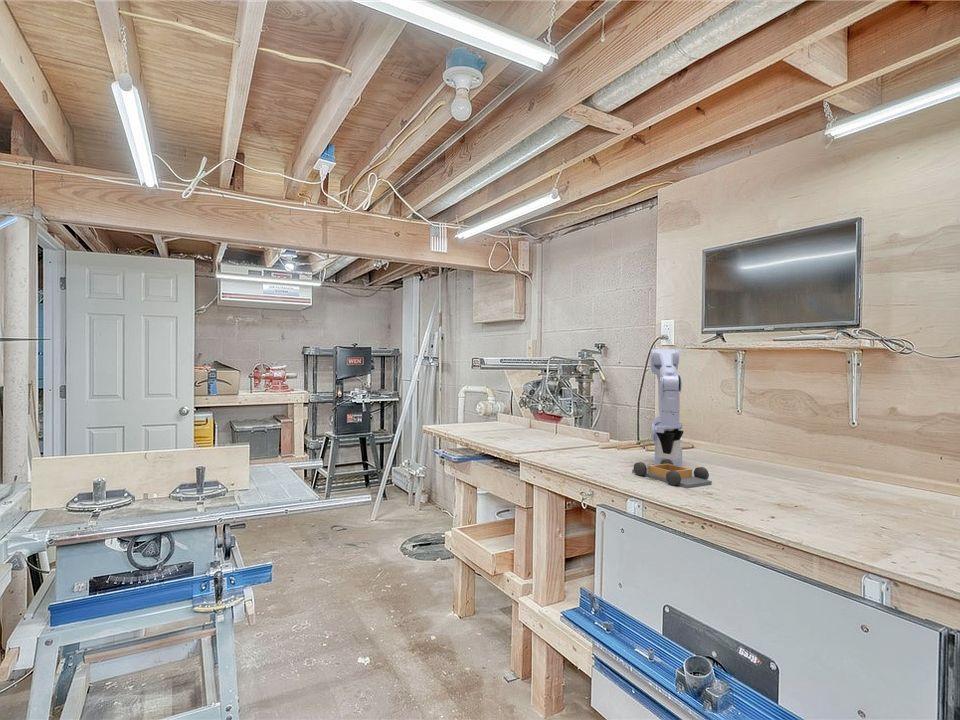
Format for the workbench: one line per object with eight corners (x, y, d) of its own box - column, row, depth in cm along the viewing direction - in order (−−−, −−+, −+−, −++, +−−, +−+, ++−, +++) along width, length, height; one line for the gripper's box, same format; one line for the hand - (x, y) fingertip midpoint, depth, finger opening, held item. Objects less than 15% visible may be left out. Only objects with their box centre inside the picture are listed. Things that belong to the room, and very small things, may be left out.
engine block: (662, 455, 164) (662, 438, 164) (680, 458, 160) (680, 439, 160) (657, 457, 161) (657, 439, 161) (675, 459, 157) (674, 441, 157)
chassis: (658, 469, 173) (658, 456, 173) (715, 483, 153) (715, 469, 153) (628, 472, 167) (628, 460, 167) (683, 488, 147) (683, 474, 147)
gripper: (668, 409, 168) (668, 448, 168) (648, 412, 158) (647, 453, 158) (688, 410, 163) (688, 451, 163) (669, 413, 153) (668, 456, 153)
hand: (669, 452), depth 160 cm, fingers closed on engine block, 4 cm apart
